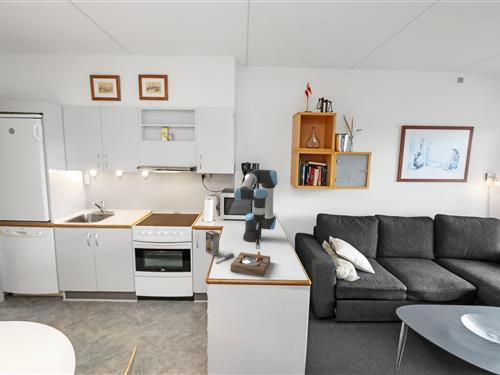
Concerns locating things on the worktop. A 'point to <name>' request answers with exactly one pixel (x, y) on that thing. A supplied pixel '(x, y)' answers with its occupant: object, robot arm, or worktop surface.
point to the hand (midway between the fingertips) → (257, 248)
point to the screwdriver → (226, 257)
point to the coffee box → (212, 242)
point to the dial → (252, 260)
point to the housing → (250, 269)
